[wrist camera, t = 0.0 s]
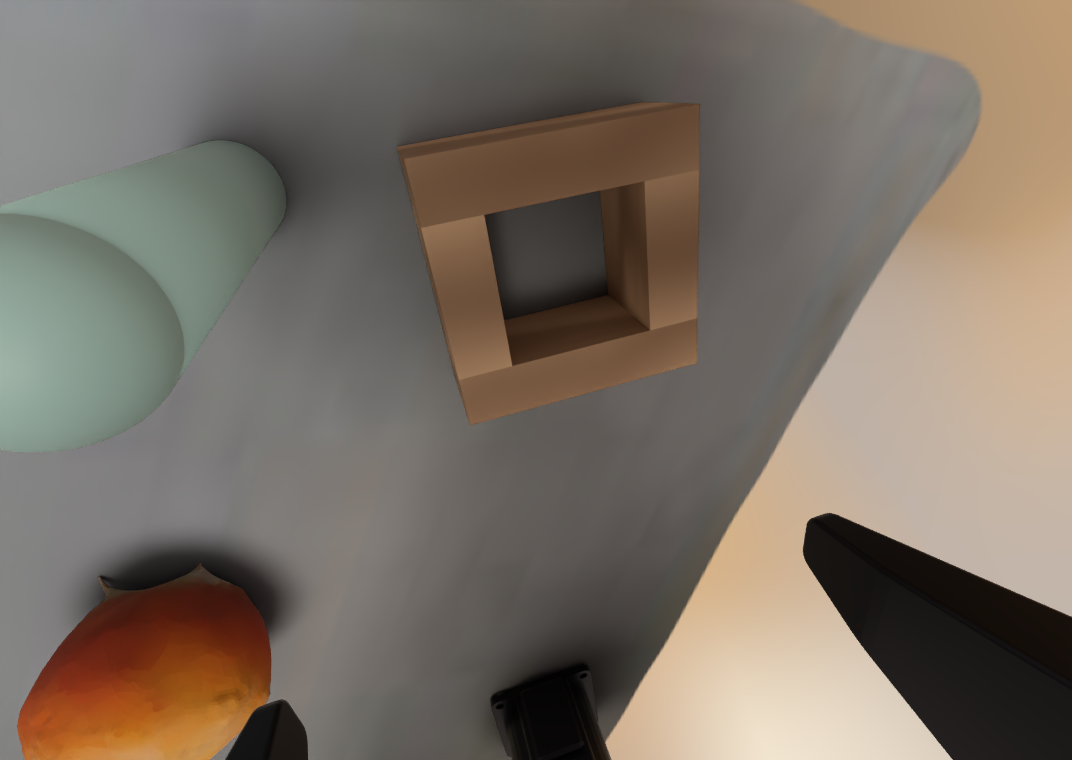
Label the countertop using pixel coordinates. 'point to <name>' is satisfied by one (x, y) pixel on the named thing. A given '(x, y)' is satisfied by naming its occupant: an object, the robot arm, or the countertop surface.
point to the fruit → (152, 676)
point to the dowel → (122, 287)
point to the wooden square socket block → (629, 242)
